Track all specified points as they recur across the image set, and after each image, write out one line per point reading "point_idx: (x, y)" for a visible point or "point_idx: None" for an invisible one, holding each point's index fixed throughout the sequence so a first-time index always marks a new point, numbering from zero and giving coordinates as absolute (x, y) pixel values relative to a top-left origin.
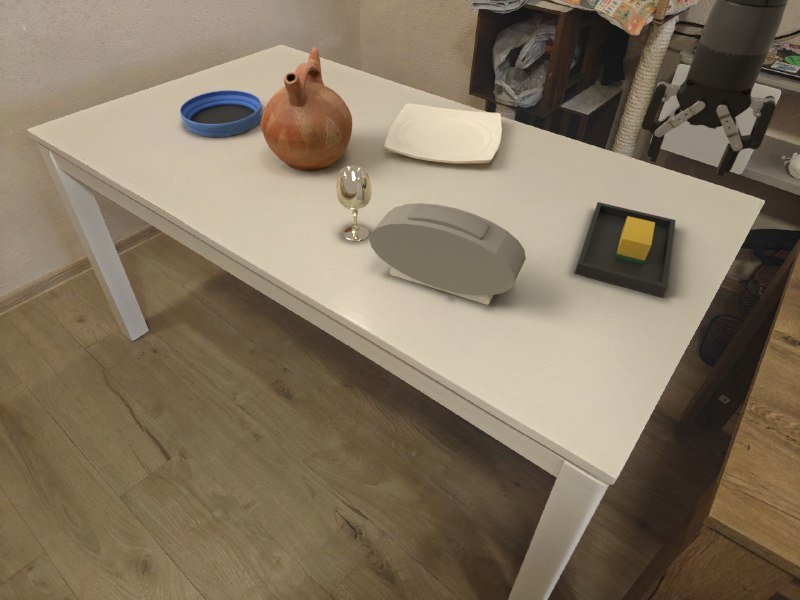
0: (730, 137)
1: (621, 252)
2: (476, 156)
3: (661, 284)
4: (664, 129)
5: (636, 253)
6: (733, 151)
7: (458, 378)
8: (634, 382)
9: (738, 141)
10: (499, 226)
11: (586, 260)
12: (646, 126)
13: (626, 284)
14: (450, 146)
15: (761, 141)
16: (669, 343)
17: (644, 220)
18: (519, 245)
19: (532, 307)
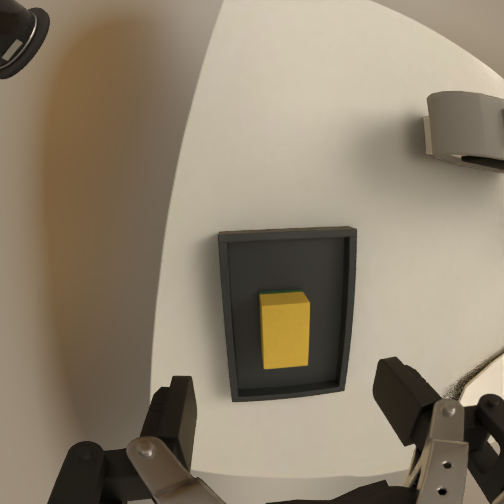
0: (182, 479)
1: (298, 293)
2: (474, 386)
3: (227, 237)
4: (445, 423)
5: (276, 296)
6: (156, 435)
7: (398, 15)
8: (232, 55)
9: (145, 467)
10: (497, 157)
11: (340, 260)
12: (493, 398)
13: (275, 229)
14: (489, 389)
15: (63, 463)
16: (197, 138)
17: (280, 366)
18: (461, 145)
19: (381, 130)
